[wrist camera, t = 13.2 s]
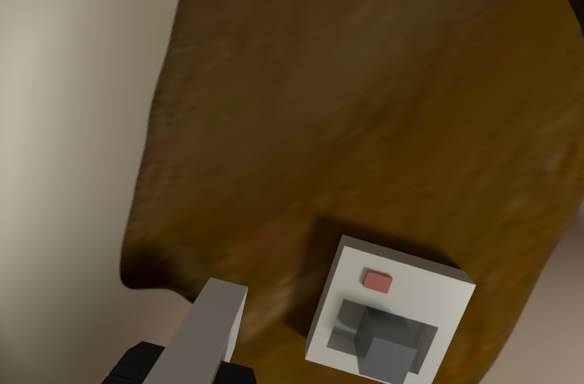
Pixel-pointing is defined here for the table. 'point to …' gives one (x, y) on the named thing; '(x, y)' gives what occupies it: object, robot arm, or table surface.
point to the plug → (384, 346)
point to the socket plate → (387, 305)
